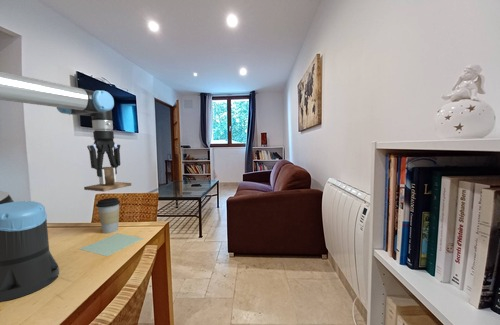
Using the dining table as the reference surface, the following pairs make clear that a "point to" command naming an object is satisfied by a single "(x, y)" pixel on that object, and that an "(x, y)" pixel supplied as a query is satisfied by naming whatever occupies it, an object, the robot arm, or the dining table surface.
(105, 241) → the rubber mat
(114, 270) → the dining table surface
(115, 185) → the walnut cover
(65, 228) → the dining table surface
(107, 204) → the coffee cup
